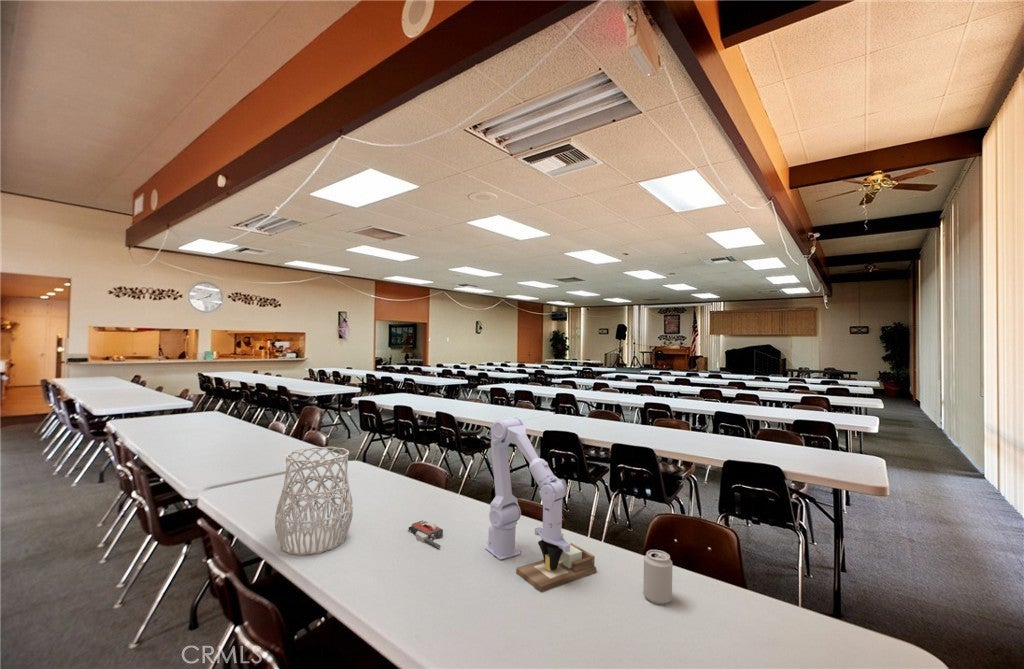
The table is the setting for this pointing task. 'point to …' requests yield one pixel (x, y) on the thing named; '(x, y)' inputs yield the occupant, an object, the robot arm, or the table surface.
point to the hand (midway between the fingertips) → (551, 567)
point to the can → (657, 577)
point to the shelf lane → (557, 572)
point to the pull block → (566, 558)
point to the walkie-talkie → (426, 532)
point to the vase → (321, 536)
